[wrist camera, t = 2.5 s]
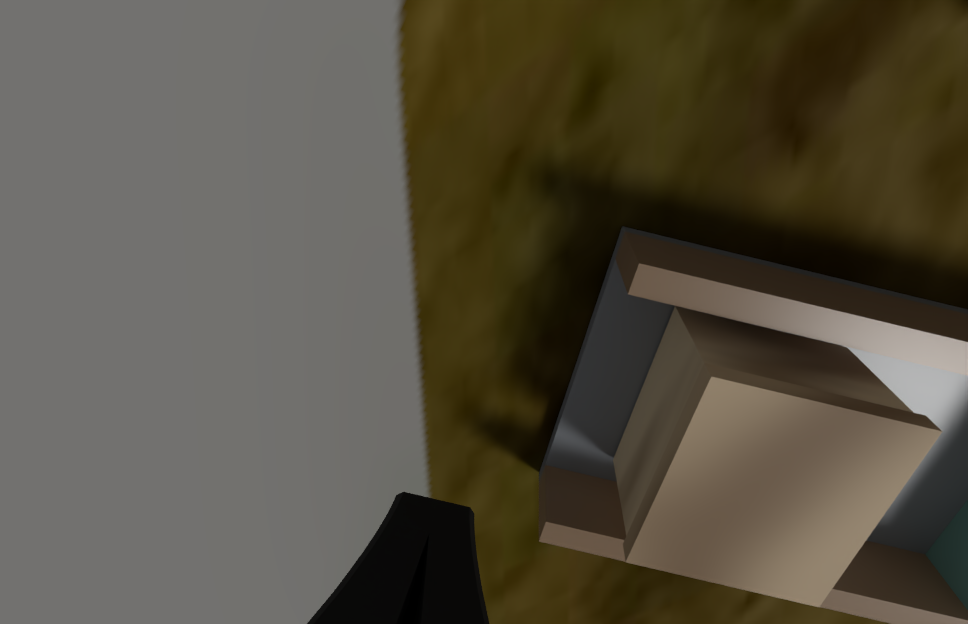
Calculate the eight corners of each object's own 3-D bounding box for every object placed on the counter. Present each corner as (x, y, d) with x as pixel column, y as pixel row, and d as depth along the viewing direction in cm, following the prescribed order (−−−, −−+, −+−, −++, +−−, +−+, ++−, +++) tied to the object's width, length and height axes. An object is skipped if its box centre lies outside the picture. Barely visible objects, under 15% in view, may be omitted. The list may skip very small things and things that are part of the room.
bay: (1107, 343, 16) (1223, 403, 13) (931, 565, 20) (993, 647, 17) (622, 226, 16) (639, 263, 13) (539, 473, 20) (538, 541, 17)
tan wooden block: (852, 345, 16) (942, 431, 13) (764, 498, 19) (819, 607, 15) (672, 301, 16) (711, 376, 12) (609, 461, 19) (625, 562, 15)
